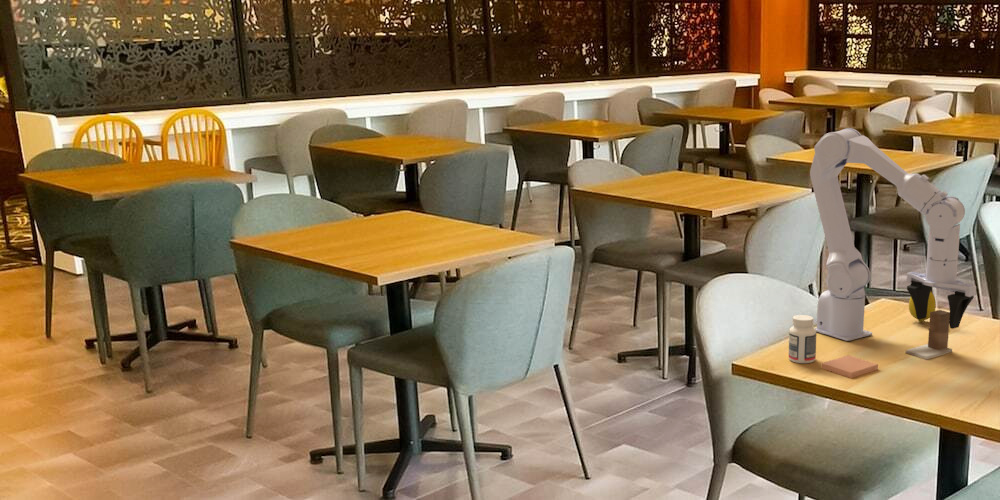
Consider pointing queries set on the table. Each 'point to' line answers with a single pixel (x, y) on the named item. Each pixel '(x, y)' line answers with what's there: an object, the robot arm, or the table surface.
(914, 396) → the table surface
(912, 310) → the lemon
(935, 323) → the brown grey l-shaped block
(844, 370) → the tile
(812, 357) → the pill bottle
